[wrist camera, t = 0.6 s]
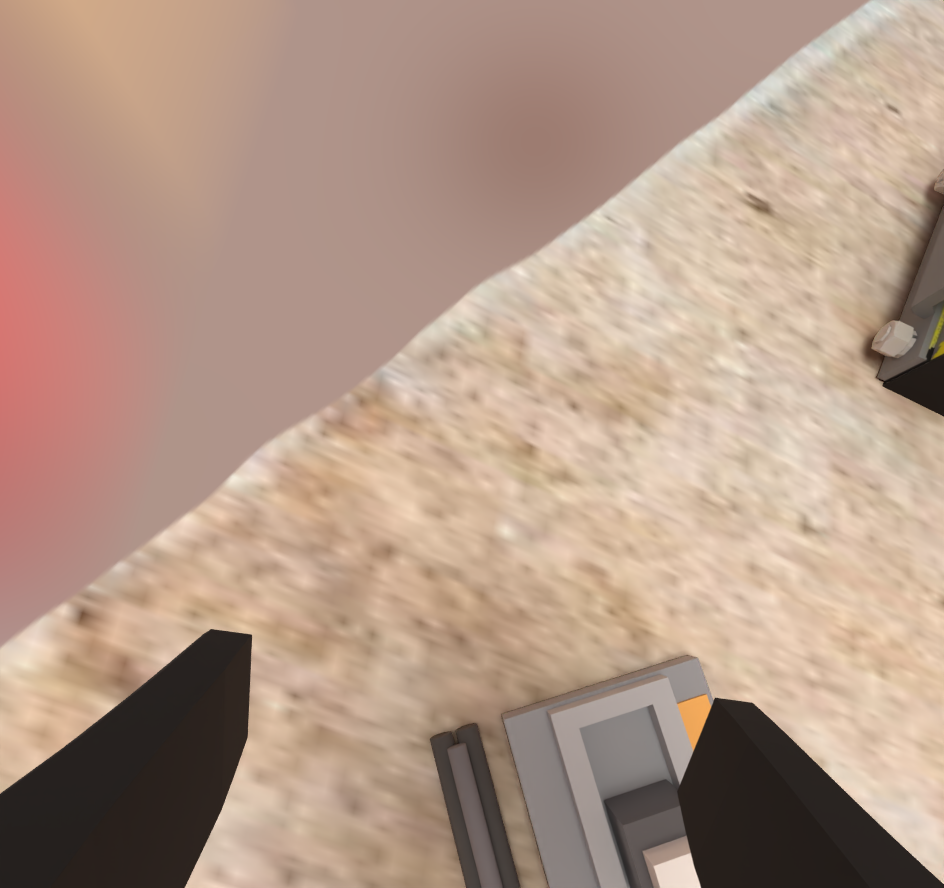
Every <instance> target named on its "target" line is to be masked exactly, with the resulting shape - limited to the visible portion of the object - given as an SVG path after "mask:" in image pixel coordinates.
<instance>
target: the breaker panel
mask: <svg viewBox="0 0 944 888" xmlns="http://www.w3.org/2000/svg"><path fill="white" fill-rule="evenodd" d="M713 702H714V701H713V698H712V695H711V693H710V690H709V687H708V684H707V681H706V679H705V676H704V673H703V670H702V668H701V665H700V662H699V659H698V658H697V657H693V656H689V655H686V656H683V657H679V658H676V659H673V660H670V661H667V662H664V663H661V664H658V665H654V666H651V667H648V668H645V669H642V670H639V671H636V672H632V673H629V674H626V675H623V676H620V677H617V678H614V679H610V680H607V681H604V682H601V683H598V684H595V685H592V686H588V687H585V688H582V689H579V690H576V691H573V692H570V693H566V694H563V695H560V696H557V697H554V698H551V699H548V700H544V701H541V702H538V703H535V704H532V705H529V706H526V707H522V708H519V709H516V710H513V711H510V712H507V713H504V714H501V715H502V719H503V722H504V726H505V730H506V733H507V737H508V740H509V744H510V748H511V751H512V755H513V759H514V762H515V766H516V770H517V773H518V777H519V780H520V784H521V788H522V791H523V795H524V799H525V802H526V806H527V810H528V813H529V817H530V820H531V824H532V828H533V831H534V835H535V839H536V842H537V846H538V850H539V853H540V857H541V860H542V864H543V868H544V871H545V875H546V879H547V882H548V886H549V888H630V885H629V881H628V878H627V875H626V871H625V868H624V865H623V862H622V858H621V855H620V852H619V848H618V845H617V842H616V839H615V835H614V832H613V829H612V825H611V822H610V819H609V816H608V812H607V809H606V806H605V802H604V800H606V799H609V798H612V797H615V796H618V795H621V794H624V793H627V792H630V791H632V790H635V789H638V788H641V787H644V786H647V785H650V784H653V783H656V782H659V781H662V780H665V779H667V780H668V781H669V782H670V783H671V784H672V785H674V786H675V787H676V788H677V789H678V788H679V786H680V783H681V781H682V778H683V776H684V773H685V771H686V768H687V766H688V763H689V761H690V758H691V756H692V753H693V751H694V749H695V746H696V744H697V741H698V739H699V736H700V734H701V731H702V729H703V726H704V724H705V721H706V719H707V716H708V714H709V711H710V709H711V706H712V704H713Z"/></svg>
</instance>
